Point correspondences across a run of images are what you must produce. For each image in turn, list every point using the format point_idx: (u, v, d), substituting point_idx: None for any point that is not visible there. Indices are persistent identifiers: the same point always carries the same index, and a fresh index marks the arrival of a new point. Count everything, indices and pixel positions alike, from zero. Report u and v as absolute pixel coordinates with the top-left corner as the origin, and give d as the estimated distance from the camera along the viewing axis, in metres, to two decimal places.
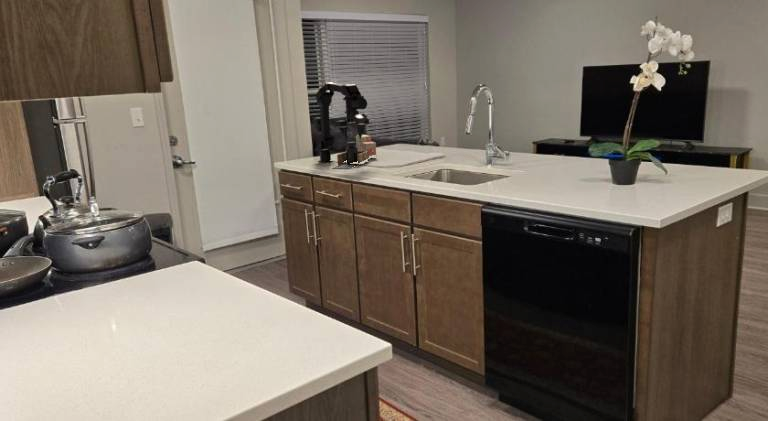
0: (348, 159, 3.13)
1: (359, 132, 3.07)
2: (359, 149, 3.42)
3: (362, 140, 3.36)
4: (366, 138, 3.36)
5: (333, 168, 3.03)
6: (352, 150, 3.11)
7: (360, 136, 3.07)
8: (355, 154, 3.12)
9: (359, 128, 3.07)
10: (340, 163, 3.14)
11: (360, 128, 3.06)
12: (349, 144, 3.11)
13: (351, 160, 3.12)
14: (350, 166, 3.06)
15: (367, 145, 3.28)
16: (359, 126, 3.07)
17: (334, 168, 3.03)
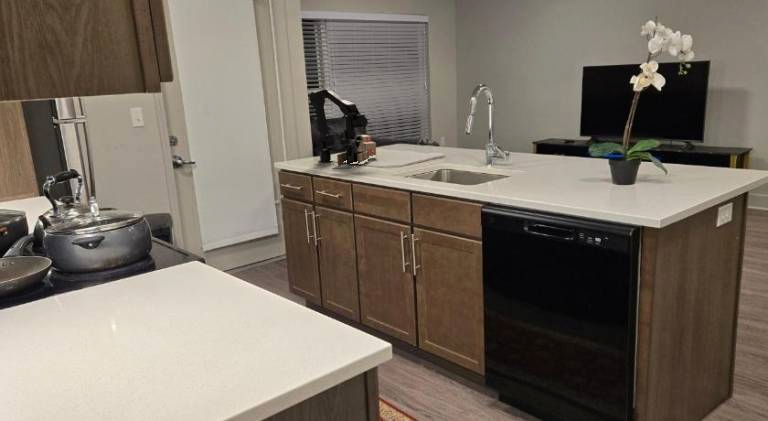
0: (348, 159, 3.13)
1: None
2: (359, 149, 3.41)
3: (362, 140, 3.35)
4: (366, 138, 3.36)
5: (333, 168, 3.03)
6: (352, 150, 3.11)
7: None
8: (355, 154, 3.12)
9: None
10: (340, 163, 3.14)
11: None
12: None
13: (351, 160, 3.12)
14: (350, 166, 3.06)
15: (367, 145, 3.28)
16: None
17: (334, 168, 3.03)
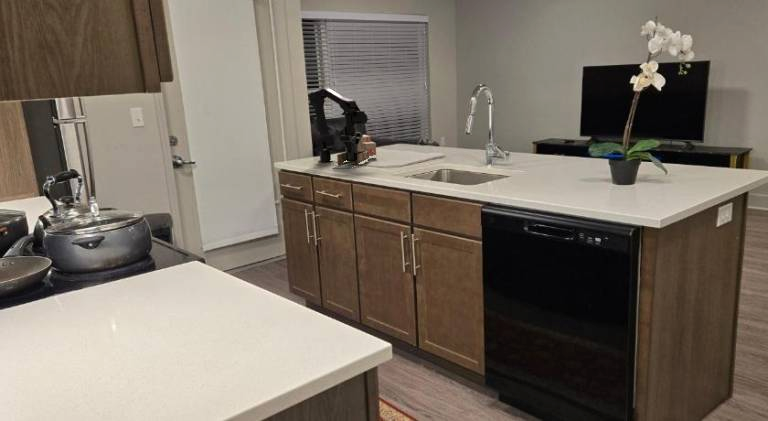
0: (348, 156, 3.13)
1: None
2: (359, 149, 3.41)
3: (362, 140, 3.35)
4: (366, 138, 3.36)
5: (333, 168, 3.03)
6: None
7: None
8: (355, 151, 3.12)
9: None
10: (340, 163, 3.14)
11: None
12: None
13: (351, 157, 3.12)
14: (350, 166, 3.06)
15: (367, 145, 3.27)
16: None
17: (334, 168, 3.03)
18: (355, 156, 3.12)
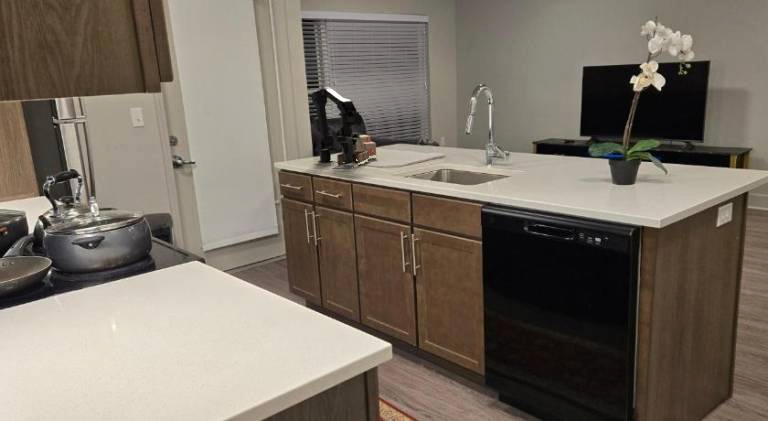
0: (345, 157, 3.08)
1: None
2: (359, 149, 3.41)
3: (362, 140, 3.35)
4: (366, 138, 3.36)
5: (333, 168, 3.03)
6: None
7: (345, 152, 3.08)
8: (352, 152, 3.08)
9: None
10: (340, 163, 3.14)
11: None
12: None
13: (348, 158, 3.08)
14: (350, 166, 3.06)
15: (367, 145, 3.27)
16: None
17: (334, 168, 3.03)
18: (352, 157, 3.08)
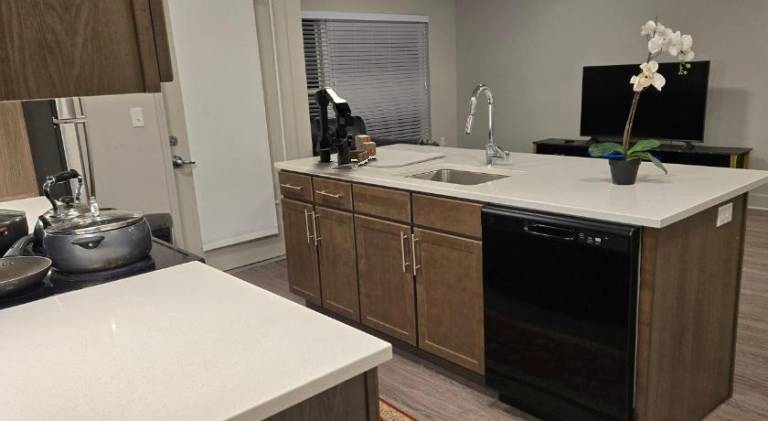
0: (339, 159, 3.03)
1: None
2: (359, 149, 3.41)
3: (362, 140, 3.35)
4: (366, 138, 3.35)
5: (333, 168, 3.03)
6: None
7: (340, 154, 3.02)
8: (347, 154, 3.02)
9: None
10: None
11: None
12: None
13: (343, 160, 3.02)
14: (350, 166, 3.06)
15: (367, 145, 3.27)
16: None
17: (334, 168, 3.03)
18: (347, 159, 3.03)
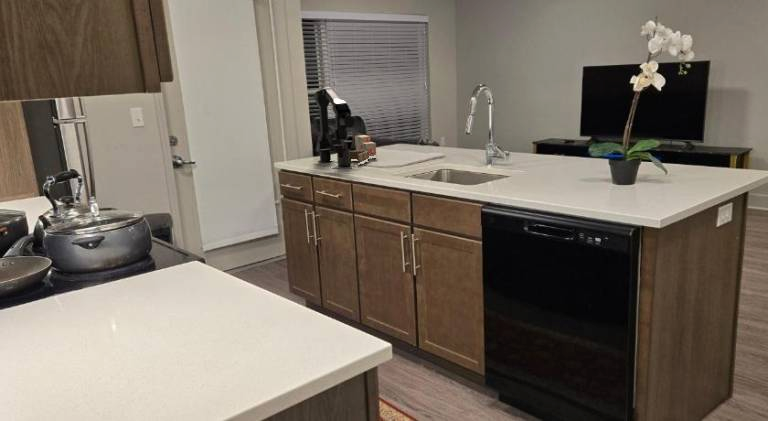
0: (339, 161, 3.03)
1: None
2: (358, 149, 3.41)
3: (362, 140, 3.35)
4: (366, 138, 3.35)
5: (333, 168, 3.03)
6: (343, 152, 3.01)
7: (339, 156, 3.01)
8: (347, 156, 3.02)
9: None
10: None
11: None
12: None
13: (343, 163, 3.02)
14: (350, 166, 3.06)
15: (367, 145, 3.27)
16: None
17: (334, 168, 3.03)
18: (347, 162, 3.03)
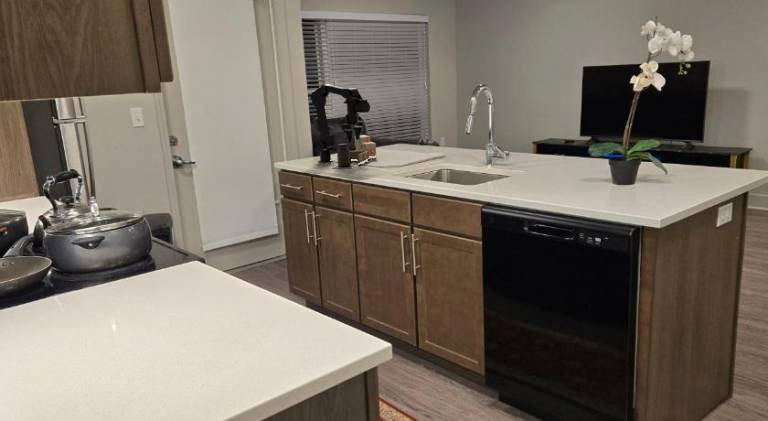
0: (339, 161, 3.03)
1: None
2: (358, 149, 3.40)
3: (362, 140, 3.34)
4: (365, 138, 3.35)
5: (333, 168, 3.03)
6: (343, 152, 3.01)
7: (349, 140, 3.09)
8: (347, 156, 3.02)
9: None
10: None
11: None
12: (340, 146, 3.02)
13: (343, 163, 3.02)
14: (350, 166, 3.06)
15: (367, 145, 3.27)
16: None
17: (334, 168, 3.03)
18: (347, 162, 3.03)
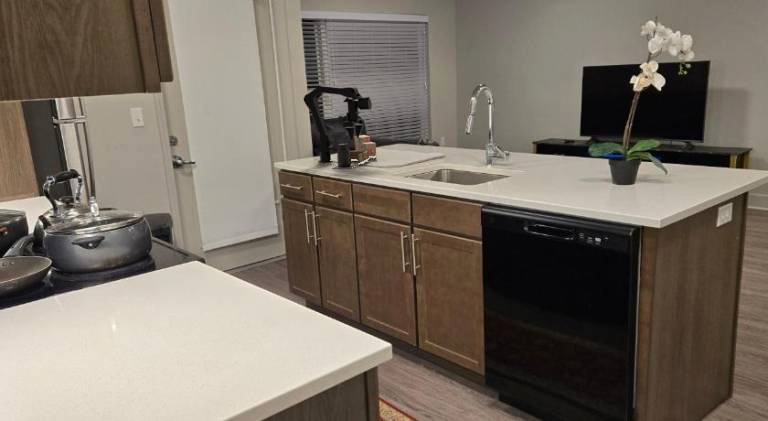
0: (339, 161, 3.03)
1: None
2: (358, 149, 3.40)
3: (361, 140, 3.34)
4: (365, 138, 3.35)
5: (333, 168, 3.03)
6: (343, 152, 3.01)
7: None
8: (347, 156, 3.02)
9: None
10: None
11: None
12: (340, 146, 3.02)
13: (343, 163, 3.02)
14: (350, 166, 3.06)
15: (367, 145, 3.26)
16: None
17: (334, 168, 3.03)
18: (347, 162, 3.03)
